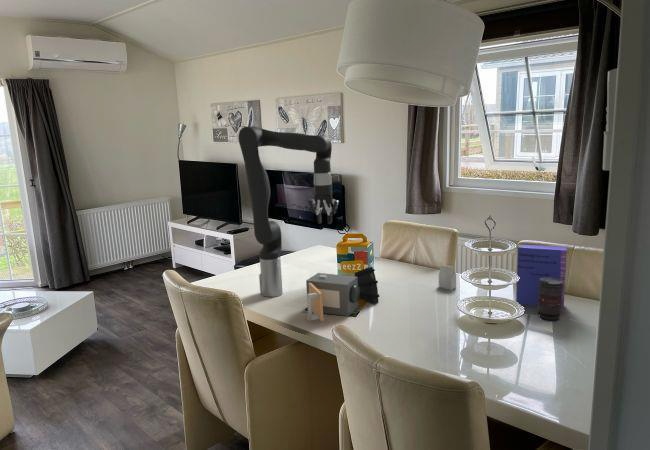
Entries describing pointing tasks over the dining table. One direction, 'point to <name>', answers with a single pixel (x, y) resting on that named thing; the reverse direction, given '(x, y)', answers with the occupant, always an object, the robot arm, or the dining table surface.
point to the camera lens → (550, 299)
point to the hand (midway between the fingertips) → (324, 223)
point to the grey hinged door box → (337, 292)
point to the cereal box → (538, 270)
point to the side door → (314, 303)
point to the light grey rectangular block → (447, 277)
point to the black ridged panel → (367, 285)
